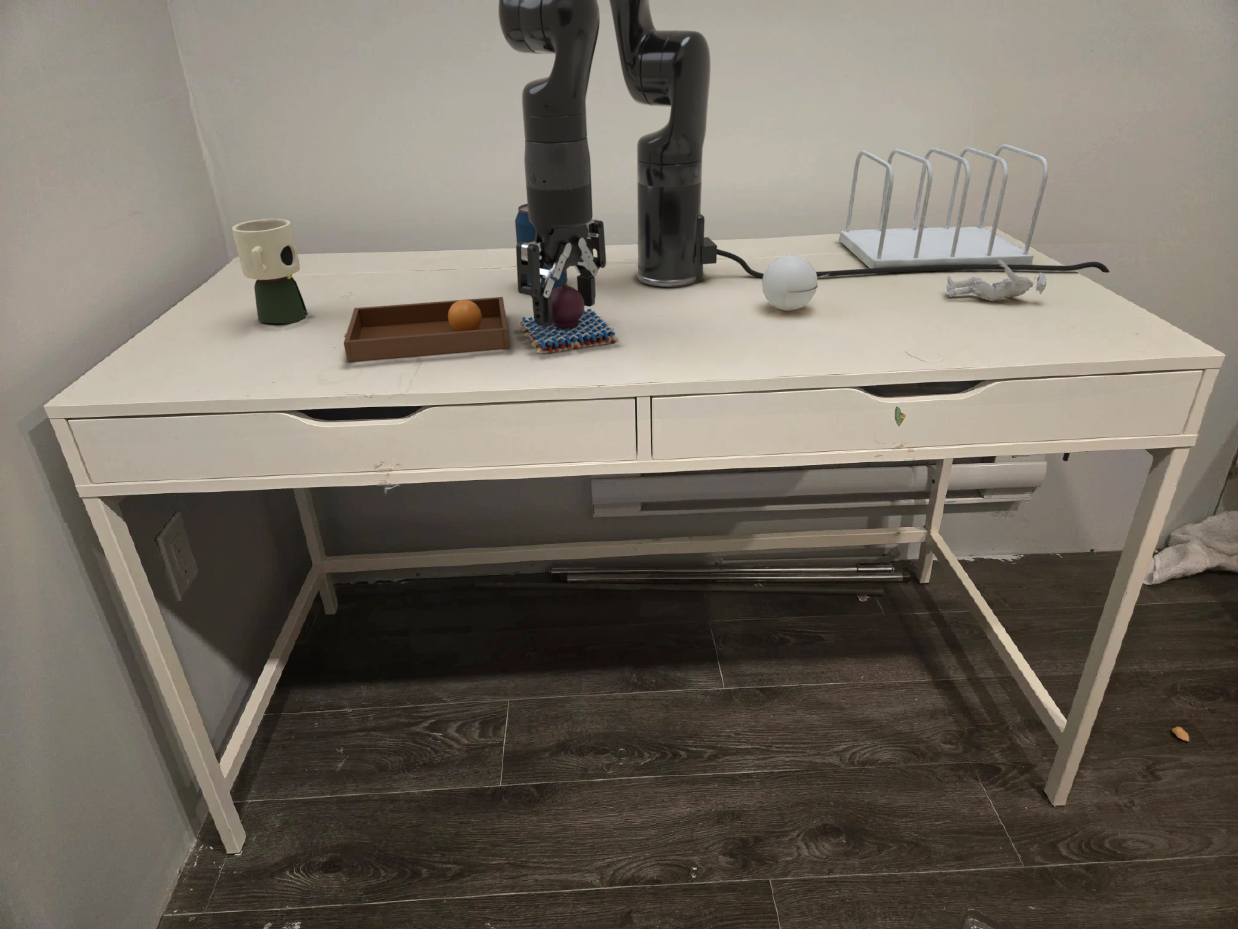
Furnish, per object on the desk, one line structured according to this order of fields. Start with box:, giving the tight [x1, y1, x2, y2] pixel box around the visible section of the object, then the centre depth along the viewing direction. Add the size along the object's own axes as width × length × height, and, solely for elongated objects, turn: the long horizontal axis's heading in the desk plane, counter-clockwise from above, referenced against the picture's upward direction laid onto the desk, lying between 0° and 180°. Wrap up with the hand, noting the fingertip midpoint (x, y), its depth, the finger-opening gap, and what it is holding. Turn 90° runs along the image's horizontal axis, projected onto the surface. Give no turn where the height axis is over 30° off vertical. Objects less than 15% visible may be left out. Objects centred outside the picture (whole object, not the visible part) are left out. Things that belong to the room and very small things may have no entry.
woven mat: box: [518, 308, 619, 355], centre depth 102 cm, size 10×11×2 cm
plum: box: [550, 280, 585, 328], centre depth 100 cm, size 5×5×6 cm
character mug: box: [231, 218, 309, 325], centre depth 107 cm, size 11×7×13 cm, turn 7°
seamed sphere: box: [761, 254, 829, 312], centre depth 109 cm, size 10×7×7 cm
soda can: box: [514, 203, 568, 290], centre depth 117 cm, size 7×7×12 cm
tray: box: [343, 296, 511, 363], centre depth 102 cm, size 19×12×3 cm, turn 100°
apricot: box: [448, 299, 482, 332], centre depth 103 cm, size 4×4×4 cm
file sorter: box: [838, 143, 1049, 269], centre depth 127 cm, size 25×17×16 cm
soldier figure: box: [946, 260, 1048, 302], centre depth 111 cm, size 8×5×12 cm
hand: (566, 314), depth 101 cm, fingers open, 8 cm apart
